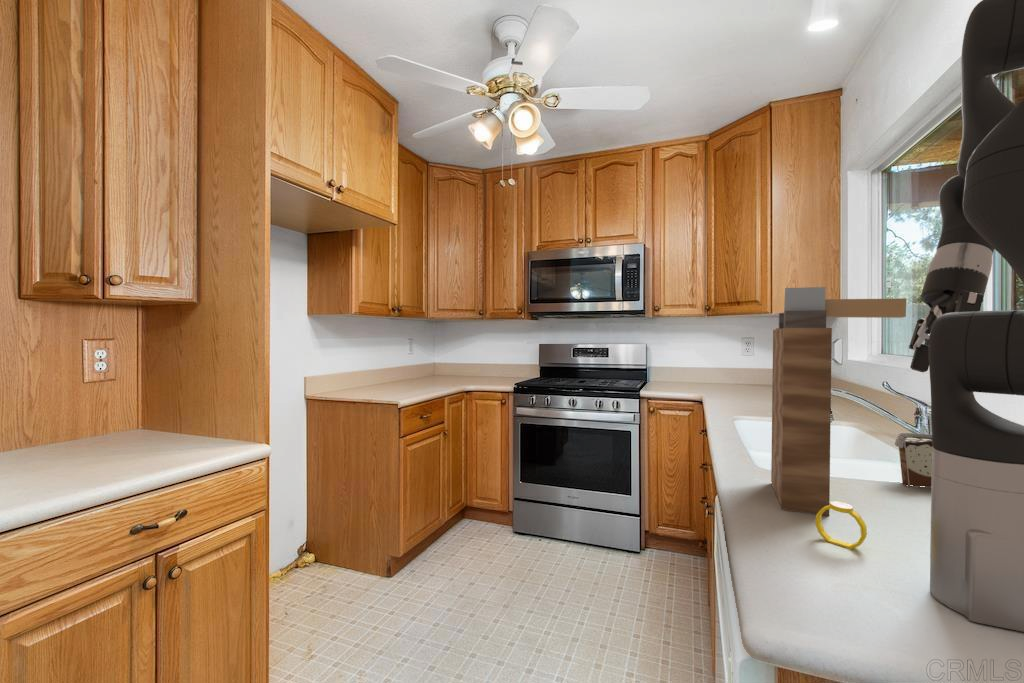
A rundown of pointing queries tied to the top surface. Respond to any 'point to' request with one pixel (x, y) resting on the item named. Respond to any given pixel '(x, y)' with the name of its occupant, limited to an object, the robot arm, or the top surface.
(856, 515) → the watch
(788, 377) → the stand
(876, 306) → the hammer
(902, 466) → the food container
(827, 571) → the top surface
